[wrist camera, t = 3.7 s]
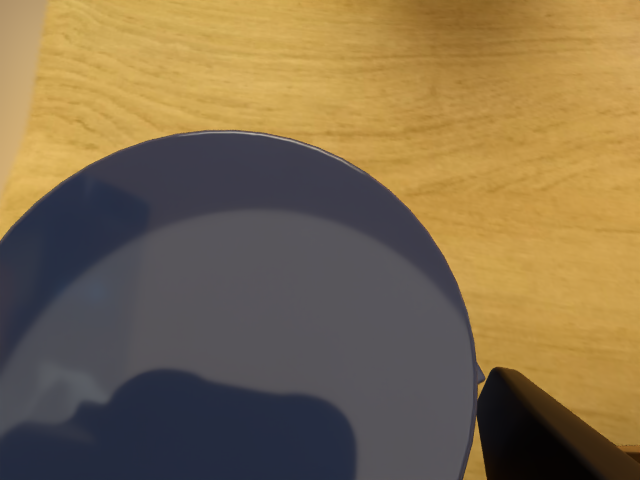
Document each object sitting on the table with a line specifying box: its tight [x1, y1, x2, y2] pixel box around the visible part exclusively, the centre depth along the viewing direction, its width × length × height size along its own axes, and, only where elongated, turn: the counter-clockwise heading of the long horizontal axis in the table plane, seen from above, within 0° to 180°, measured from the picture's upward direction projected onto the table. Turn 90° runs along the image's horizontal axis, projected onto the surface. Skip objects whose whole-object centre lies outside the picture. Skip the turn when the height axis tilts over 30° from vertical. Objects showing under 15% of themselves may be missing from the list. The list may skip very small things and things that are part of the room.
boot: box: [0, 130, 485, 480], centre depth 10 cm, size 8×4×12 cm, turn 115°
